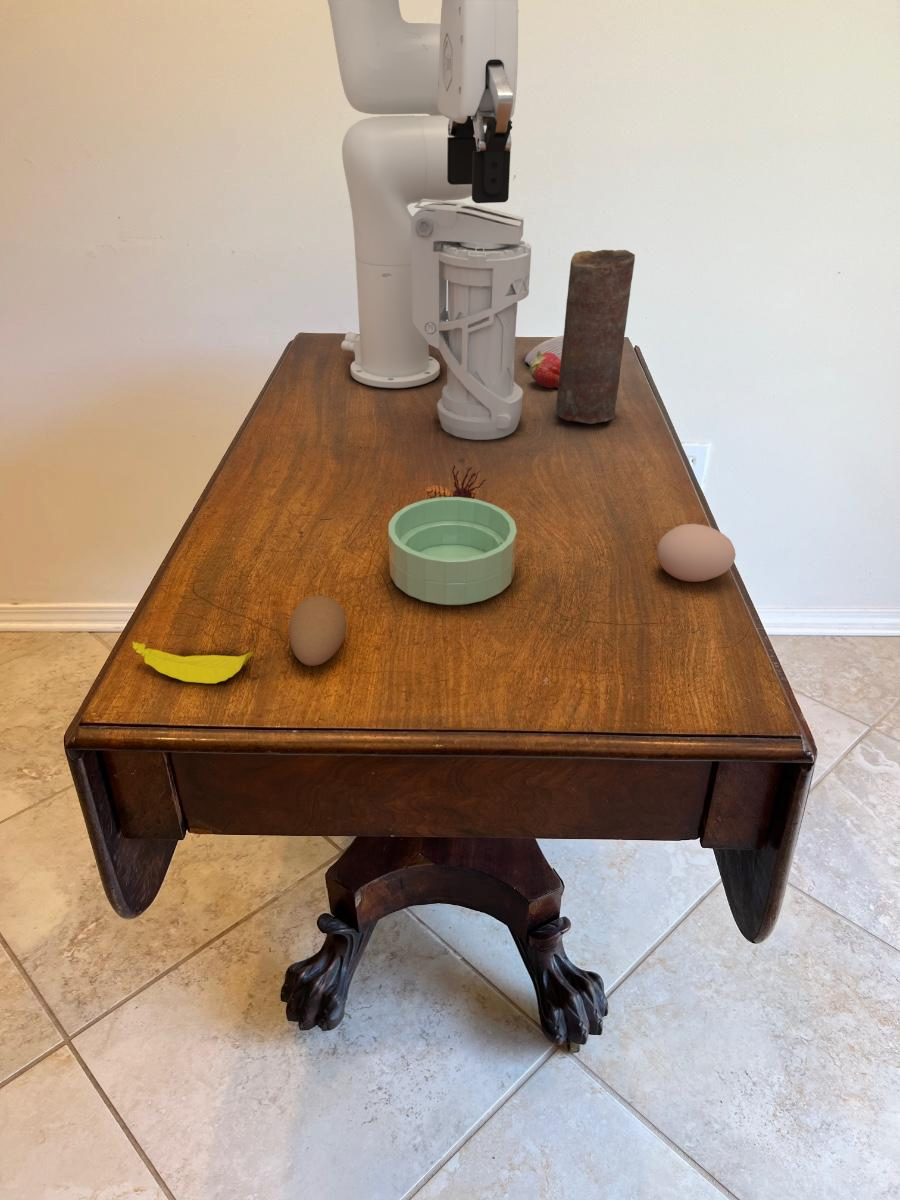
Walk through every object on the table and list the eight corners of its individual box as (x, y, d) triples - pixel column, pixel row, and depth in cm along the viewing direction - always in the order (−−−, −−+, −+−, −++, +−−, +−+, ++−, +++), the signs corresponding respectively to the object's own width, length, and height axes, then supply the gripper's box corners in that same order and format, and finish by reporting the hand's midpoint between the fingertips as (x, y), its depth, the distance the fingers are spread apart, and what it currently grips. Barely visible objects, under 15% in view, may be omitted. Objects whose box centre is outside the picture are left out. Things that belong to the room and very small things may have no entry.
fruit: (571, 392, 113) (574, 356, 110) (527, 390, 113) (529, 354, 110) (571, 381, 116) (574, 346, 113) (528, 379, 117) (530, 344, 114)
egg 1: (311, 616, 69) (295, 679, 66) (288, 585, 66) (269, 649, 63) (360, 613, 68) (346, 677, 65) (339, 580, 65) (323, 646, 61)
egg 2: (662, 549, 71) (744, 554, 70) (660, 509, 75) (738, 514, 74) (653, 590, 75) (731, 596, 74) (651, 551, 78) (726, 556, 78)
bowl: (365, 584, 75) (362, 535, 72) (435, 531, 82) (435, 485, 79) (471, 625, 70) (472, 575, 67) (535, 565, 77) (539, 518, 74)
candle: (612, 435, 102) (634, 262, 90) (552, 429, 103) (566, 258, 91) (615, 411, 108) (636, 246, 96) (558, 406, 109) (572, 243, 97)
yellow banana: (144, 651, 66) (126, 679, 64) (138, 631, 65) (120, 659, 62) (262, 659, 66) (249, 687, 63) (259, 639, 65) (246, 667, 62)
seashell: (602, 356, 115) (532, 337, 115) (589, 392, 119) (521, 374, 119) (601, 332, 124) (537, 314, 123) (590, 366, 127) (526, 349, 127)
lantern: (525, 411, 107) (538, 198, 93) (516, 444, 99) (528, 216, 85) (426, 403, 109) (424, 194, 95) (409, 436, 101) (404, 211, 86)
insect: (479, 457, 85) (477, 500, 88) (421, 462, 84) (420, 506, 86) (491, 474, 82) (488, 518, 85) (430, 479, 81) (429, 524, 83)
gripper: (415, -37, 74) (418, 178, 83) (461, -48, 60) (458, 212, 70) (498, -35, 75) (491, 176, 85) (560, -45, 61) (544, 208, 71)
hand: (476, 192), depth 77 cm, fingers open, 9 cm apart
